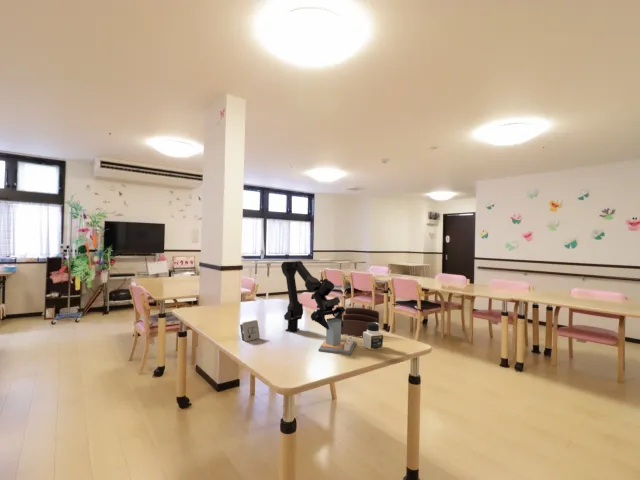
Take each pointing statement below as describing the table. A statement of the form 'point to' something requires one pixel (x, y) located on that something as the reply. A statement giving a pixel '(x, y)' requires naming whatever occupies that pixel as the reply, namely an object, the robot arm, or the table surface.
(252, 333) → the electrical switch
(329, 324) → the cap
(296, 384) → the table surface
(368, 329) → the medicine bottle
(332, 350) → the board
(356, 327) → the letter holder
